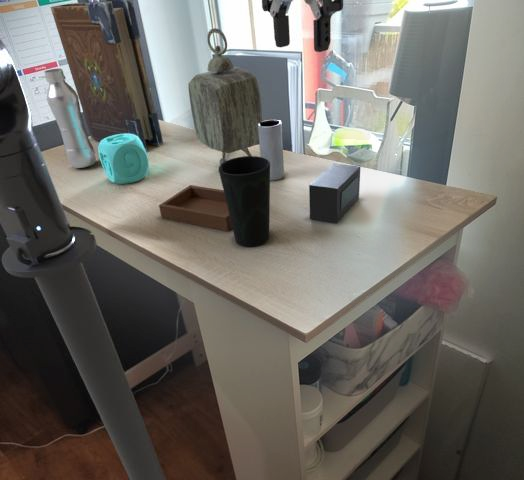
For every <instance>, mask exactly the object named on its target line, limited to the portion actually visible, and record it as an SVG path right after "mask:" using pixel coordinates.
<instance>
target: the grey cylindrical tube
mask: <svg viewBox="0 0 524 480" xmlns="http://www.w3.org/2000/svg"><path fill="white" fill-rule="evenodd" d="M258 132H259V144H258V145H259V153H260V156H259V157H262V158H265V159H267V160H268V161H269V162H270V181H278V180H281V179H282V178H284V177H285V162H284V145H283V144H284V143H283V125H282V121H281V120H279V119H266V120H262V122H260V123H259V124H258Z"/></svg>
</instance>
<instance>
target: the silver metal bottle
mask: <svg viewBox="0 0 524 480" xmlns="http://www.w3.org/2000/svg"><path fill="white" fill-rule="evenodd" d="M43 72H44V76H45V78H46V79H45V80H46V82H47V83H48V84H49V85H48V87H47V91H46V101H47V105H48V106H49V108H50V111H51V112H52V115H53V117H54V118H55V121H56V124H57V126H58V129H59V132H60V134H61V138H62V142H63V146H64V153H65V154H64V155H65V158H66V161H67V162H68V164H69V165H70V166H71V167H72V168H75V169H81V168H82V169H83V168H86V167H90V166H92V165H93V166H94V164H95V163H96V161H97V155H96V151H95V149H94V146H93V145H92V143H91V140H90V138H89V136H88V133H87V130H86V128H85V123H84V120H83V116H82V112H81V103H80V100H79V97H78V94H77V91H76V89H74V88H73V87H72V86H71V85H70V84H69V83H68V82H67V81H66V76H65V74H64V69H62V68H51V69H47V70H44V71H43Z"/></svg>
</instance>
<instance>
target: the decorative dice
mask: <svg viewBox="0 0 524 480" xmlns="http://www.w3.org/2000/svg"><path fill="white" fill-rule="evenodd" d="M99 141H100V140H99ZM97 152H98V153H97V154H98V157H99V160H100V163H101V166H102V169H103V171H104V173H105V175H106V177H107V178H108V179H109V181H110V182H112V183H113V184H117V185H128V184H133V183H136V182H138V181H141V180H143V179H144V178H146V176H147V174H148V173H149V170H150V162H149V157H148V154H147V151H146V150H145V148H144V146H143V144H142V142H141V140H140V139H139V137H138V136H136V135H135V134H129V133H126V134H117V135H112V136H109V137H106V138H104V139H102V140H101V141H100V142H99V143H98V146H97Z"/></svg>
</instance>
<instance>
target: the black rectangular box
mask: <svg viewBox="0 0 524 480" xmlns="http://www.w3.org/2000/svg"><path fill="white" fill-rule="evenodd" d="M360 184H361V166H360V165H350V164H342V163H332V164H331V165H330V166H329V167H328V168H327V169H325V171H324V172H323V173H321V174H320V175H319V176H318V177H317V178H316V179H314V180H313V181H312V182H311V183H310V184H309V185H308V193H309V195H308V196H309V198H308V199H309V220H312V221H319V222H325V223H330V224H336V225H337V224H338V223H339V222H340V221H341V220H342V219H343V218H344V216H345V215H346V214H347V213H348V212H349V211H350V210H351V209H352V208H353V207H354V206H355V205H356V203H357V202H359V200H360V187H361V185H360Z"/></svg>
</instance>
